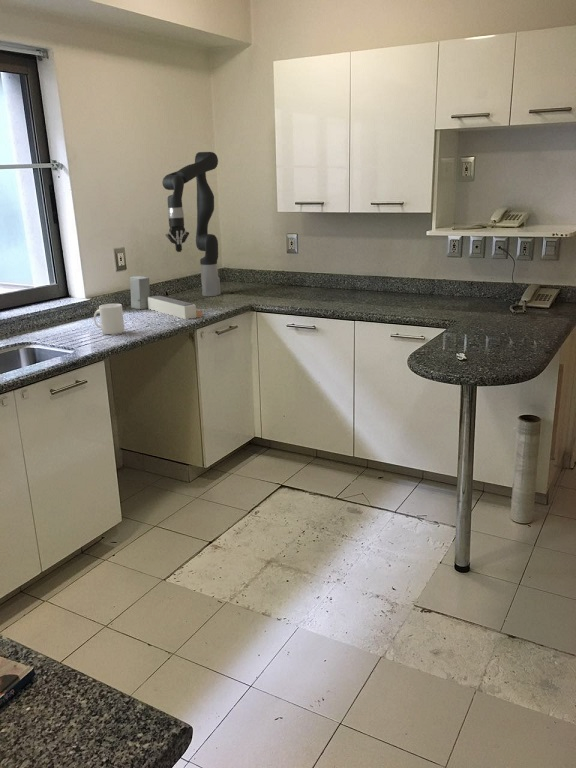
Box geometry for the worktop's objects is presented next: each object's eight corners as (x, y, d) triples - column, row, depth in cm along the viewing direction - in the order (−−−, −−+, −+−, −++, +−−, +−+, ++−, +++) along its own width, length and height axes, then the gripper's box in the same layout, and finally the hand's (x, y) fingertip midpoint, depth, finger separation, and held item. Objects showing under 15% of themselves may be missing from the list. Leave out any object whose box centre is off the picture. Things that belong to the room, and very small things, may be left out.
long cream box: (164, 306, 333) (163, 294, 331) (201, 316, 307) (201, 303, 305) (148, 309, 328) (147, 296, 326) (185, 319, 301) (184, 305, 300)
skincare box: (131, 308, 332) (127, 277, 327) (142, 306, 337) (139, 275, 332) (140, 310, 326) (137, 278, 322) (152, 307, 331) (149, 276, 326)
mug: (125, 333, 277) (122, 306, 273) (96, 336, 274) (92, 309, 270) (123, 329, 286) (121, 302, 282) (95, 331, 282) (92, 305, 279)
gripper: (183, 215, 333) (186, 249, 339) (160, 217, 326) (163, 252, 331) (191, 216, 328) (194, 250, 333) (168, 217, 320) (171, 253, 325)
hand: (179, 251), depth 332 cm, fingers closed
